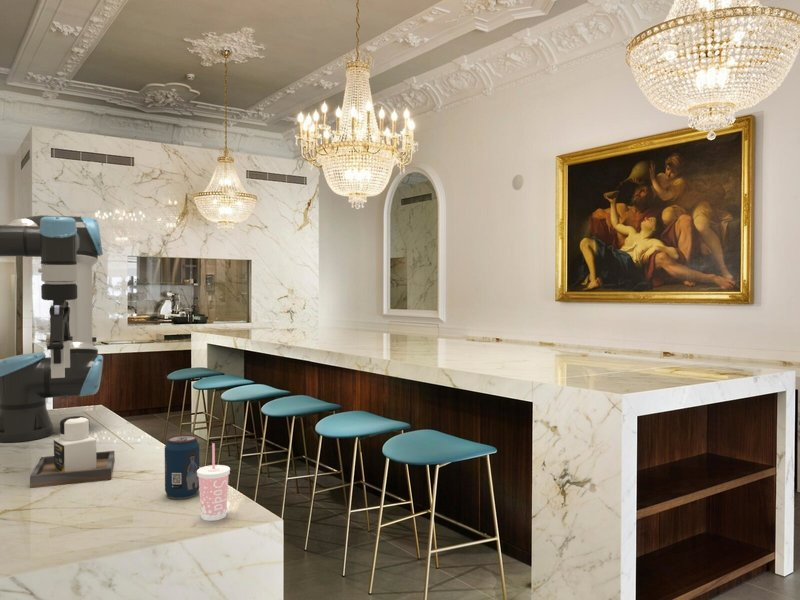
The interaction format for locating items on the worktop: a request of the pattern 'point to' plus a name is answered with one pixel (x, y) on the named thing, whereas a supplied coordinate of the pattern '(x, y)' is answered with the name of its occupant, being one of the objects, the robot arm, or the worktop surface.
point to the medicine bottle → (74, 446)
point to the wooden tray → (72, 472)
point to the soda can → (182, 466)
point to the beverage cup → (213, 489)
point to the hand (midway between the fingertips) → (61, 372)
